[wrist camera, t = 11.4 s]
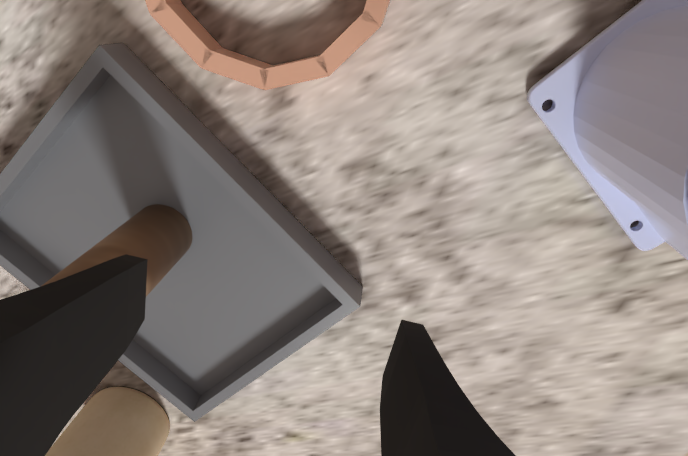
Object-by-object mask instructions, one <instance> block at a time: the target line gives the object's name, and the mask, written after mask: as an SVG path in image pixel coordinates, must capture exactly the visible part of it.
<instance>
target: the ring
mask: <svg viewBox="0 0 688 456" xmlns="http://www.w3.org/2000/svg"><path fill="white" fill-rule="evenodd" d="M145 1H146V4H147V7H148V10H149V13H151V14H150V15H151V16H152V17H153V18H154V19H155V20H156V21H157V22H158V23H159V24H160V25H161V26H162V27H163V28H164V29H165V30H166V31H167V33H168V34H169V35H170V36H171V37H172V38H173V39H174V40H175V41H176V42H177V43H178V44H179V45H180V46H181V47H182V48H183V49H184V51H185V52H186V53H187V54H188V55H189V56H190V57H191V58H192V59H193V60H194V61H195V62H196V63H197V64H198V65H199V66H200V67H201V68H202V69H205V70H208V71H211V72H214V73H217V74H219V75H222V76H225V77H228V78H231V79H234V80H237V81H240V82H243V83H246V84H248V85H251V86H254V87H257V88H260V89H263V90H268V89H272V88H277V87H281V86H286V85H291V84H295V83H300V82H304V81H309V80H314V79H318V78H323V77H327V76H329V75H331V74H332V73H333V72H334V71H335V70H336V69H337V68H338V67H339V66H340V65H341V64H342V63H344V62H345V61H346V60H347V59H348V58H349V57H350V56H351V55H352V54H353V53H354V52H355V51H356V50H357V49H358V48H359V47H360V46H361V45H362V44H363V43H364V42H365V41H366V40H368V39H369V38H370V37H371V36H372V35H373V34H374V33H375V32H376V31H377V30H378V29H379V28H380V27H381V26H382V24H383V21H384V18H385V15H386V12H387V9H388V5H389V2H390V0H367V1H366V4H365V7H364V11H363V14H362V15H361V16H360V17H359V18H358V19H357V20H356V21H355V22H353V23H352V24H351V25H350V26H349V27H348V28H347V29H346V30H345V31H344V32H343V33H342V34H341V35H340V36H339V37H338V38H337V39H336V40H335V41H334V42H333V43H332V44H331V45H330V46H329V47H328V48H327V49H326V50H325V51H324V52H323V53H322V54H321V55H317V56H313V57H308V58H304V59H300V60H295V61H291V62H286V63H282V64H278V65H270V64H268V63H265V62H262V61H259V60H256V59H253V58H250V57H247V56H245V55H242V54H239V53H236V52H233V51H230V50H227V49H224V48H222V47H221V46H220V45H219V44H218V42H217V41H216V40H215V39H214V38H213V37H212V36H211V35H210V34H209V33H208V32H207V30H206V29H205V28H204V27H203V26H202V25H201V24H200V23H199V22H198V21H197V20H196V18H195V17H194V16H193V15H192V14H191V13H190V12H189V11H188V10H187V9H186V8H185V7H184V5H183V4H182V2H181V0H145Z"/></svg>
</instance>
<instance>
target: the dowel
mask: <svg viewBox="0 0 688 456" xmlns="http://www.w3.org/2000/svg"><path fill="white" fill-rule="evenodd" d="M191 243H192V230H191V227H190V225H189V223H188V221H187V220H186V218H185V217H184V216H183V215H182V214H181V213H180V212H178V211H177V210H175V209H174V208H171V207H169V206H166V205H160V204H155V205H150V206H147V207H145V208H144V209H142V210H141V211H140V212H138V213H137V214H136V215H134V216H133V217H132V218H130V219H129V220H128V221H126V222H125V223H124V224H122V225H121V226H120V227H118V228H117V229H116V230H114V231H113V232H112V233H110V234H109V235H108V236H106V237H105V238H104V239H103V240H101V241H100V242H99V243H97V244H96V245H95V246H93V247H92V248H91V249H89V250H88V251H87V252H85V253H84V254H83V255H81V256H80V257H79V258H77V259H76V260H75V261H73V262H72V263H71V264H69V265H68V266H67V267H65V268H64V269H63V270H61V271H60V272H59V273H58V274H56V275H55V276H54V277H52V278H51V279H50V280H48V281H47V282H46V283H44V284H43V285H46V284H49V283H52V282H55V281H57V280H60V279H63V278H65V277H68V276H70V275H73V274H75V273H78V272H80V271H83V270H86V269H88V268H91V267H93V266H96V265H98V264H101V263H103V262H106V261H108V260H111V259H113V258H116V257H119V256H122V255H125V254H127V255H131V256H135V257H140V258H144V259H148V261H147V282H146V296H147V295H148V294H149V293H150V292H151V291H152V290H153V289H154V288H155V286H156V285H157V284H158V283H159V282H160V281H161V280H162V279H163V278H164V276H165V275H166V274H167V273H168V272H169V271H170V270H171V269H172V267H173V266H174V265H175V264H176V263H177V262H178V261H179V260H180V259H181V257H182V256H183V255H184V254H185V253H186V252H187V251H188V249H189V248H190V246H191ZM43 285H42V286H43Z"/></svg>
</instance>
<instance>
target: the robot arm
mask: <svg viewBox="0 0 688 456" xmlns="http://www.w3.org/2000/svg"><path fill="white" fill-rule="evenodd" d="M548 99H551V100H552V102H553V104H552V107H551V108H550V109H549V110H547V111H543V109H542V104H543V103H544V102H545V101H546V100H548ZM527 100H528V102H529V104H530V105H531V107H532V108H533V109H534V111H535V112H536V114H537V115H538V116H539V118H540V119H541V120H542V122H543V123H544V124H545V126H546V127H547V128H548V130H549V131H550V132H551V134H552V135H553V136H554V138H555V139H556V140H557V142H558V143H559V144H560V146H561V147H562V148H563V150H564V151H565V152H566V154H567V155H568V156H569V158H570V159H571V161H572V162H573V163H574V165H575V166H576V167H577V169H578V170H579V171H580V173H581V174H582V175H583V177H584V178H585V179H586V181H587V182H588V183H589V185H590V186H591V187H592V189H593V190H594V191H595V193H596V194H597V195H598V197H599V198H600V199H601V201H602V202H603V203H604V205H605V206H606V208H607V209H608V210H609V212H610V213H611V214H612V216H613V217H614V218H615V220H616V221H617V222H618V224H619V225H620V226H621V228H622V229H623V230H624V232H625V233H626V234H627V236H628V237H629V238H630V240H631V241H632V242H633V244H634V245H635V246H636V247H637V248H638V249H640V250H643V251H647V250H651V249H653V248H655V247H657V246H658V245H660V244H662V243H663V242H665V241H666V242H667V243H668V244H669V245H670V246H672V247H673V248H674V249H675V250H676V251H678V252H679V253H680V254H681V255H682V256H683V257H685V258H686V259H687V260H688V0H642V1H641V2H639V3H638V4H637V5H635V6H634V7H633V8H632V9H630V10H629V11H628V12H626V13H625V14H624V15H623V16H621V17H620V18H619V19H618V20H616V21H615V22H614V23H612V24H611V25H610V26H609V27H607V28H606V29H605V30H603V31H602V32H601V33H600V34H598V35H597V36H596V37H595V38H593V39H592V40H591V41H589V42H588V43H587V44H586V45H584V46H583V47H582V48H580V49H579V50H578V51H577V52H575V53H574V54H573V55H571V56H570V57H569V58H568V59H566V60H565V61H564V62H563V63H561V64H560V65H559V66H557V67H556V68H555V69H554V70H552V71H551V72H550V73H548V74H547V75H546V76H545V77H543V78H542V79H541V80H539V81H538V82H537V83H536V84H534V85H533V86H532V87H531V88H530V89H529V91H528V94H527ZM637 220H638V221H639V223H638V225H637V226H635V227H633V228H631V227H630V225H631V223H633V222H634V221H637ZM147 261H148V259H144V258H140V257H135V256H131V255H127V254H125V255H122V256H119V257H116V258H113V259H111V260H108V261H106V262H103V263H101V264H98V265H96V266H93V267H91V268H88V269H86V270H83V271H80V272H78V273H75V274H73V275H70V276H68V277H65V278H63V279H60V280H57V281H55V282H52V283H49V284H46V285H43V286H40V287H38V288H35V289H32V290H29V291H26V292H23V293H20V294H18V295H15V296H11V297H8V298H5V299H2V300H0V456H45V455H46V453H47V452H48V450H49V449H50V447H51V446H52V444H53V443H54V441H55V440H56V438H57V437H58V435H59V434H60V432H61V431H62V429H63V428H64V427H65V425H66V424H67V423H68V421H69V420H70V419H71V417H72V416H73V415H74V413H75V412H76V411H77V410H78V409H79V407H80V406H81V405H82V404H83V402H84V401H85V400H86V399H87V398H88V396H89V395H90V394H91V393H92V391H93V390H94V389H95V388H96V387H97V385H98V384H99V383H100V382H101V380H102V379H103V378H104V377H105V376H106V374H107V373H108V372H109V371H110V369H111V368H112V367H113V366H114V364H115V363H116V362H117V361H118V359H119V358H120V357H121V356H122V354H123V353H124V352H125V351H126V349H127V348H128V346H129V345H130V343H131V341H132V340H133V338H134V337H135V335H136V333H137V332H138V330H139V328H140V326H141V325H142V323H143V321H144V320H145V303H146V282H147ZM380 426H381V453H382V456H515V455H514V454H513V452H512V451H511V450H510V449H509V448H508V447H507V446H506V445H505V444H504V443H503V442H502V441H501V440H500V438H499V437H498V436H497V435H496V434H495V433H494V431H493V430H492V429H491V428H490V427H489V425H488V424H487V423H486V422H485V421H484V419H483V418H482V417H481V416H480V414H479V413H478V412H477V411H476V409H475V408H474V407H473V405H472V404H471V402H470V401H469V400H468V398H467V397H466V395H465V394H464V393H463V391H462V390H461V388H460V387H459V385H458V384H457V382H456V381H455V379H454V377H453V376H452V374H451V373H450V371H449V369H448V368H447V366H446V364H445V363H444V361H443V359H442V358H441V356H440V354H439V352H438V351H437V349H436V347H435V345H434V343H433V342H432V340H431V338H430V336H429V334H428V333H427V331H426V329H425V327H424V326H423V325H422V324H417V323H413V322H409V321H405V320H401V323H400V326H399V329H398V332H397V335H396V338H395V341H394V344H393V347H392V350H391V353H390V356H389V359H388V362H387V365H386V368H385V371H384V374H383V380H382V390H381V402H380Z"/></svg>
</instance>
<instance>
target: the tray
mask: <svg viewBox="0 0 688 456" xmlns="http://www.w3.org/2000/svg"><path fill="white" fill-rule="evenodd" d="M155 204H160V205H166V206H169V207H171V208H174V209H175V210H177V211H178V212H180V213H181V214H182V215H183V216H184V217H185V218H186V220H187V221H188V223H189V225H190V227H191V230H192V243H191V246H190V248H189V249H188V251H187V252H186V253H185V254H184V255H183V256H182V257H181V259H180V260H179V261H178V262H177V263H176V264H175V265H174V266H173V267H172V269H171V270H170V271H169V272H168V273H167V274H166V275H165V276H164V278H163V279H162V280H161V281H160V282H159V283H158V284H157V285H156V286H155V288H154V289H153V290H152V291H151V292H150V293H149V294H148V295H147V296H146V303H145V320H144V321H143V323H142V325H141V326H140V328H139V330H138V332H137V333H136V335H135V337H134V338H133V340H132V341H131V343H130V345H129V346H128V348H127V349H126V351H125V352H124V353H123V354H122V356H121V357H120V358H119V359H118V361H120V362H121V363H122V364H123V365H125V366H126V367H127V368H128V369H130V370H131V371H132V372H133V373H135V374H136V375H137V376H138V377H139V378H141V379H142V380H143V381H144V382H146V383H147V384H148V385H149V386H151V387H152V388H153V389H154V390H156V391H157V392H158V393H159V394H161V395H162V396H163V397H164V398H166V399H167V400H168V401H169V402H171V403H172V404H173V405H174V406H175V407H177V408H178V409H179V410H180V411H182V412H183V413H184V414H185V415H187V416H188V417H189V418H190V419H192V420H193V421H194V422H195V421H196V420H198V419H199V418H201V417H202V416H203V415H205V414H206V413H208V412H209V411H211V410H212V409H213V408H215V407H216V406H218V405H219V404H221V403H222V402H224V401H225V400H226V399H228V398H229V397H231V396H232V395H234V394H235V393H236V392H238V391H239V390H241V389H242V388H244V387H245V386H247V385H248V384H249V383H251V382H252V381H254V380H255V379H257V378H258V377H260V376H261V375H262V374H264V373H265V372H267V371H268V370H270V369H271V368H272V367H274V366H275V365H277V364H278V363H280V362H281V361H283V360H284V359H285V358H287V357H288V356H290V355H291V354H293V353H294V352H295V351H297V350H298V349H300V348H301V347H303V346H304V345H306V344H307V343H308V342H310V341H311V340H313V339H314V338H316V337H317V336H319V335H320V334H321V333H323V332H324V331H326V330H327V329H329V328H330V327H331V326H333V325H334V324H336V323H337V322H339V321H340V320H342V319H343V318H344V317H346V316H347V315H349V314H350V313H352V312H353V311H354V310H356V309H357V308H359V307H360V304H361V296H362V289H363V287H362V286H361V285H360V284H359V283H358V282H357V281H356V280H355V279H354V278H353V277H352V276H351V275H350V274H349V273H348V272H347V271H346V270H345V268H344V267H343V266H342V265H341V264H340V263H339V262H338V261H337V260H336V259H335V258H334V257H333V256H332V255H331V254H330V253H329V252H328V251H327V250H326V249H325V248H324V247H323V246H322V245H321V244H320V243H319V242H318V241H317V240H316V239H315V238H314V237H313V236H312V235H311V234H310V233H309V232H308V231H307V230H306V229H305V228H304V227H303V226H302V225H301V224H300V223H299V222H298V221H297V220H296V219H295V218H294V216H293V215H292V214H291V213H290V212H289V211H288V210H287V209H286V208H285V207H284V206H283V205H282V204H281V203H280V202H279V201H278V200H277V199H276V198H275V197H274V196H273V195H272V194H271V193H270V192H269V191H268V190H267V189H266V188H265V187H264V186H263V185H262V184H261V183H260V182H259V181H258V180H257V179H256V178H255V177H254V176H253V175H252V174H251V173H250V172H249V171H248V170H247V169H246V168H245V167H244V165H243V164H242V163H241V162H240V161H239V160H238V159H237V158H236V157H235V156H234V155H233V154H232V153H231V152H230V151H229V150H228V149H227V148H226V147H225V146H224V145H223V144H222V143H221V142H220V141H219V140H218V139H217V138H216V137H215V136H214V135H213V134H212V133H211V132H210V131H209V130H208V129H207V128H206V127H205V126H204V125H203V124H202V123H201V122H200V121H199V120H198V119H197V118H196V117H195V116H194V114H193V113H192V112H191V111H190V110H189V109H188V108H187V107H186V106H185V105H184V104H183V103H182V102H181V101H180V100H179V99H178V98H177V97H176V96H175V95H174V94H173V93H172V92H171V91H170V90H169V89H168V88H167V87H166V86H165V85H164V84H163V83H162V82H161V81H160V80H159V79H158V78H157V77H156V76H155V75H154V74H153V73H152V72H151V71H150V70H149V69H148V68H147V67H146V66H145V65H144V64H143V62H142V61H141V60H140V59H139V58H138V57H137V56H136V55H135V54H134V53H133V52H132V51H131V50H130V49H129V48H128V47H127V46H126V45H125V44H124V43H115V44H105V45H99V46H98V47H97V49H96V50H95V51H94V53H93V54H92V55H91V56H90V58H89V59H88V60H87V62H86V63H85V64H84V66H83V67H82V68H81V69H80V71H79V72H78V73H77V75H76V76H75V77H74V79H73V80H72V81H71V83H70V84H69V85H68V86H67V88H66V89H65V90H64V92H63V93H62V94H61V96H60V97H59V98H58V99H57V101H56V102H55V103H54V105H53V106H52V107H51V109H50V110H49V111H48V112H47V114H46V115H45V116H44V118H43V119H42V120H41V122H40V123H39V124H38V125H37V127H36V128H35V129H34V131H33V132H32V133H31V135H30V136H29V137H28V138H27V140H26V141H25V142H24V144H23V145H22V146H21V148H20V149H19V150H18V152H17V153H16V154H15V155H14V157H13V158H12V159H11V161H10V162H9V163H8V165H7V166H6V167H5V168H4V170H3V171H2V172H1V174H0V266H2V267H3V268H4V269H5V270H7V271H8V272H9V273H10V274H12V275H13V276H14V277H15V278H17V279H18V280H19V281H20V282H22V283H23V284H24V285H25V286H26V287H28V288H29V289H30V290H32V289H35V288H38V287H40V286H42V285H43V284H44V283H46V282H47V281H48V280H50V279H51V278H52V277H54V276H55V275H56V274H58V273H59V272H60V271H61V270H63V269H64V268H65V267H67V266H68V265H69V264H71V263H72V262H73V261H75V260H76V259H77V258H79V257H80V256H81V255H83V254H84V253H85V252H87V251H88V250H89V249H91V248H92V247H93V246H95V245H96V244H97V243H99V242H100V241H101V240H103V239H104V238H105V237H106V236H108V235H109V234H110V233H112V232H113V231H114V230H116V229H117V228H118V227H120V226H121V225H122V224H124V223H125V222H126V221H128V220H129V219H130V218H132V217H133V216H134V215H136V214H137V213H138V212H140V211H141V210H142V209H144V208H145V207H147V206H150V205H155Z"/></svg>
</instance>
